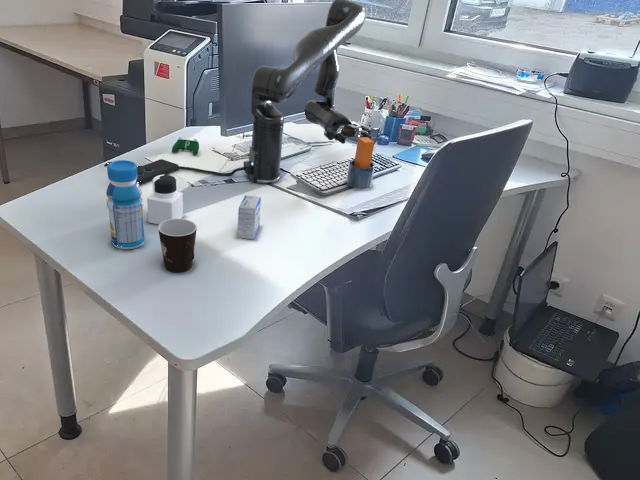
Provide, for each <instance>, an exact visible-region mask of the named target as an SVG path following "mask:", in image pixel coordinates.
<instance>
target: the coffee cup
mask: <svg viewBox="0 0 640 480" xmlns="http://www.w3.org/2000/svg"><path fill="white" fill-rule="evenodd" d="M354 161H355V159H352V160H350V161H349V162H348V163H349V164H348V169H347V174H346V175H347V176H346V185H347V186H349V187H351V188H353V189H359V190H366V189H370V188H371V187H372V184H373V178H374V173H375V169H376V164H375V163H374V162H372V161H371V164H370V168H360V167H356V166H354Z"/></svg>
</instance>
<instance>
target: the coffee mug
mask: <svg viewBox="0 0 640 480" xmlns="http://www.w3.org/2000/svg"><path fill="white" fill-rule="evenodd" d="M197 229H198V226H197V224H196V223H195V222H194V221H191V220H189V219H186V218H181V219H169V220H166V221H163V222H161V223H160V224H158V225H157V231H158V235H159V236H158V237H159V242H160V247H161V254H162V259H163V265H164V269H165V270H166V271H168V272H171V273H174V274H183V273H186V272H188V271H190V270H191V269H192V267H193V261H194V259H195V246H196V238H197Z"/></svg>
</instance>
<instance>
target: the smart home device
mask: <svg viewBox="0 0 640 480" xmlns="http://www.w3.org/2000/svg"><path fill="white" fill-rule="evenodd" d="M139 166H140V167H138V168H137V173H138V177H137V180H136V181H137V182H139V183H138V184H139V186H142V185H143V184H146V183H149V182H151V181H152V182H153V178H154V177H156V176H159V175H170V174H172V173H174V172H177V171H179V169H178V166H179V164H178V163H175V162H172V161H169V160H166V159H163V158H160V159H156V160H155V161H151V162H149V163H146V164H143V165H139ZM140 181H141V182H140Z"/></svg>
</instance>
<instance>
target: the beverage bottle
mask: <svg viewBox="0 0 640 480" xmlns="http://www.w3.org/2000/svg"><path fill="white" fill-rule="evenodd" d="M110 162H111V163H109V164H108V165H107V166H106V170H107V171H106V173H107V179H108V180H109V181H110V182H109V183H108V184H107V187H106V192H105V193H106V197H107V199H106V208H107V210H108V219H109V226H110V242H111V245H112V246H113V247H115V248H117V249H119V250H133V249H137V248H140V247H142V246H143V245H144V244H145V242H146V239H145V229H144V212H143V211H144V210H143V209H144V208H143V207H144V199H143V198H142V197H141V196H142V194H143V191H142V187H141V185H139V184H138V183H137V181H136V180H137V177H138V173H137V166H138V165H137V163H136V162H134V161H132V160H126V159H120V160H119V159H117V160H113V161H110ZM112 242H113V243H114V244H113V243H112ZM117 245H118V246H117ZM121 246H122V247H121Z"/></svg>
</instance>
